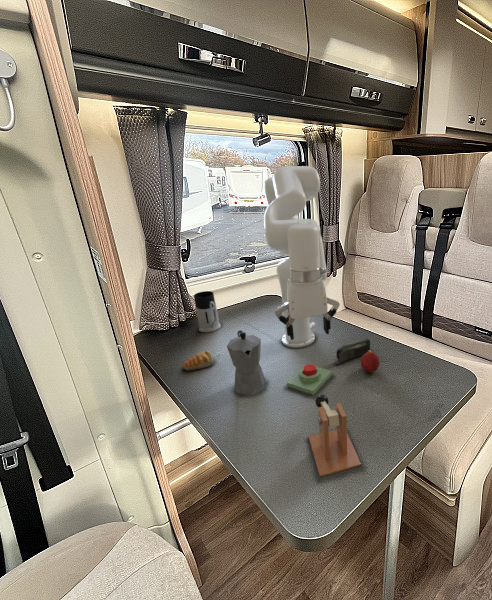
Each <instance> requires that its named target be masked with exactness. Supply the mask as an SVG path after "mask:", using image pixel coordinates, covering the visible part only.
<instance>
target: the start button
mask: <svg viewBox="0 0 492 600" xmlns="http://www.w3.org/2000/svg"><path fill="white" fill-rule="evenodd" d="M308 364H309V365H307V364H305V365H304V366H303V367H304V374H305V375H307V376H312V375H314V374H315V373H316V367H315V366H316V365H315V364H310V363H308Z"/></svg>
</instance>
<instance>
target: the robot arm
mask: <svg viewBox="0 0 492 600" xmlns="http://www.w3.org/2000/svg"><path fill="white" fill-rule="evenodd" d="M320 189H321V178H320V175H319V172H318V171H317V169H316V168H315V167H314V166H311V165H300V166H299V165H297V166H296V165H293V166H292V165H291V166H282V167H279V168H278V169H276V170H275V172H274V173H273V175H272V177H271V176H270V177H269V178H267V179H266V180H264V182H263V193H264V197H265V201H266V204H267V206H266V210H265V212H264V216H263V223H264V224H263V225H264V233H265V240H266V242H267V245H268V246H269V248H271V249H272V250H273V251H274V250H275V251H279V253H280V254H281V256H283V257H284V256H285V257H288V259H284V260H281V261H279V262H278V264H277V266H276V274H277V280H278V283H279V284H278V285H279V288H280V293H281V294H280V295H281V302H282V303H281V304H282V305H279V306H278V307H277V308H275V309H274V311H273V313H274V315H275V316H276V318H277V319H278V321H279V322H281V323H282V324H283V325H284V334H283V335H282V336H281V343H282V344H283V345H284V346H286V347H288V348H294V349H295V348H296V349H297V348H304V347H307V346H309V345H311V344H313V342H315V340H316V336H315V334H314V333H313V332H312V330H313V328H315V327H316V323H315V321H312V322H311V321H310V319H311V318H315V317H321V316H323V317H322V321H323V324H322V325H323V330H324V333H325V334H326V335H329V334H330V330H331V329H332V328H331V321H332V320H333V317H334V316H335V315H336V314H337V311H338V309H339V307H340V305H341V304H340V302H339V301H338V300H336V299H333V298H330V297H327V289H326V285H325V281H326V279H327V277H328V272H327V263H326V256H325V250H324V242H323V237H322V231H321V226H320V225H319V223H318V222H317V221H316V220H315V219H312V218H299V214H301V213H302V212H303V211H304V209H306V206H307V202H309V201H310V202H311V201H312V200H313V199H314V198H315V197H317V195H318V194H319V192H320ZM328 305H331V308H330V309H329V310H328V308H329V307H328ZM282 313H283V314H282Z"/></svg>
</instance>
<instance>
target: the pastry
mask: <svg viewBox="0 0 492 600" xmlns="http://www.w3.org/2000/svg"><path fill="white" fill-rule="evenodd" d="M214 363H215V362H214V358H213V356H212V354H211V352H210V351H209V350H205V351H202V352H198V353H196V354H194V355H193V356H192V357H189V358H188V359H186V360H185V361H183V363H182V369H183V370H185V371H194V370H200V369H204V368H206V367H210V366H212V365H213V364H214Z"/></svg>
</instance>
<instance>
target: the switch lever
mask: <svg viewBox="0 0 492 600" xmlns="http://www.w3.org/2000/svg"><path fill="white" fill-rule="evenodd" d="M314 400H315V405H316V407H317V408H318V407H323V409H324V411H325V414H326V417H327V419H328V428H334V427H337V426H338V425H340V424H339V416H338V413H337V412H336V409H331V408H330V406H329V398H328V396H326V395H325V394H319V395H318V396H316V397H315V399H314Z"/></svg>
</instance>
